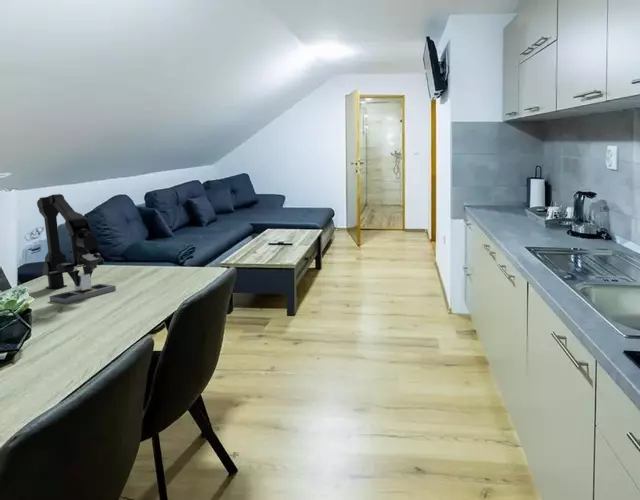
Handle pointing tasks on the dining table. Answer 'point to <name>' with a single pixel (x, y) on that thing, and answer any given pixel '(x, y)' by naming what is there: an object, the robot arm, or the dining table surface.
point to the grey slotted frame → (82, 293)
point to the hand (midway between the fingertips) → (82, 285)
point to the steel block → (83, 281)
